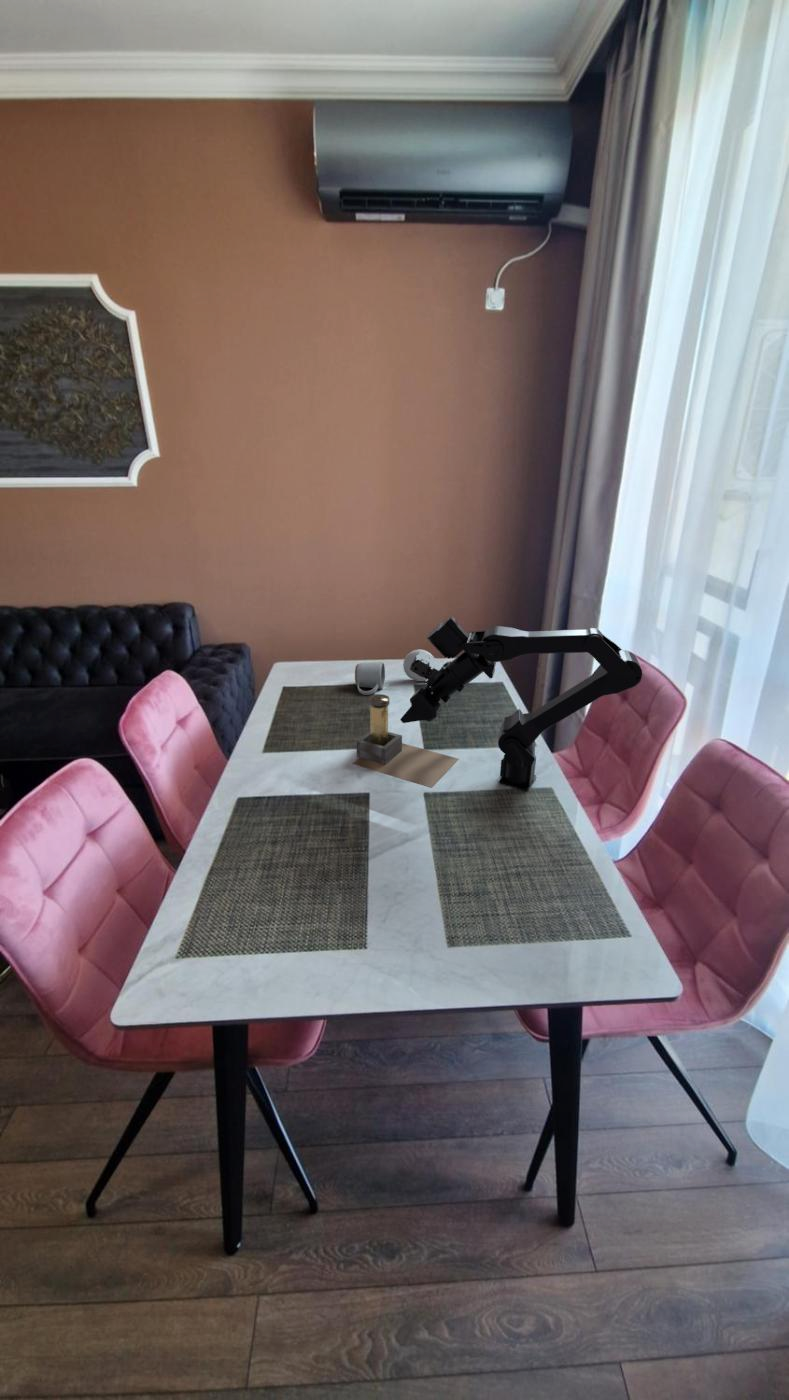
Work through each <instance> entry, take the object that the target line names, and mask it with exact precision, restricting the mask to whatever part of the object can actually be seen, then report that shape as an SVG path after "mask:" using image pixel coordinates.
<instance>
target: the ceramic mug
mask: <svg viewBox="0 0 789 1400" xmlns="http://www.w3.org/2000/svg"><path fill="white" fill-rule="evenodd" d="M385 667H386V666H385V663H384V662H383V661H378V662H376V661H375V662H374V661H373V662H372V661H371V662H359V663H357V664H356V665H355V669H354V683H355V685H356V686H357V690H358V692H359V693H360V694H361V695H363V696H369V695H370V696H372V695H374V694H375V693H376V692H377V690H378V689H383V688H384V686H385V681H386V668H385ZM361 688H368V689H369V688H370V689H371V688H372V689H371V690H363V689H361Z"/></svg>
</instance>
